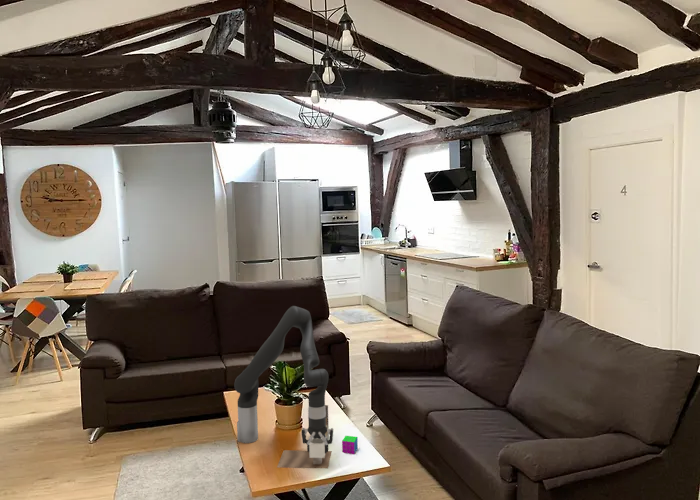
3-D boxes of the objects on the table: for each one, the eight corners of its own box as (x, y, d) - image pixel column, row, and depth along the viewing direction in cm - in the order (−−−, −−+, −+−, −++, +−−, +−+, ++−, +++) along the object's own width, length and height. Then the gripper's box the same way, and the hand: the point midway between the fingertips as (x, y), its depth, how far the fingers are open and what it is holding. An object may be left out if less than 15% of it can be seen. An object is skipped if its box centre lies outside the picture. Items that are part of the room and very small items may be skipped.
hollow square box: (309, 457, 235) (309, 444, 235) (311, 450, 242) (311, 437, 241) (324, 457, 235) (324, 444, 234) (326, 450, 241) (325, 437, 241)
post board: (276, 470, 235) (276, 451, 234) (283, 453, 251) (283, 435, 250) (328, 471, 233) (327, 452, 233) (331, 454, 249) (331, 436, 249)
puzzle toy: (357, 448, 255) (357, 436, 254) (354, 454, 249) (354, 442, 249) (345, 447, 256) (345, 435, 256) (342, 452, 251) (342, 440, 250)
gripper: (299, 418, 234) (300, 456, 235) (332, 418, 233) (333, 456, 234) (301, 411, 241) (302, 448, 243) (334, 411, 240) (335, 448, 242)
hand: (317, 452), depth 238 cm, fingers closed on hollow square box, 6 cm apart
